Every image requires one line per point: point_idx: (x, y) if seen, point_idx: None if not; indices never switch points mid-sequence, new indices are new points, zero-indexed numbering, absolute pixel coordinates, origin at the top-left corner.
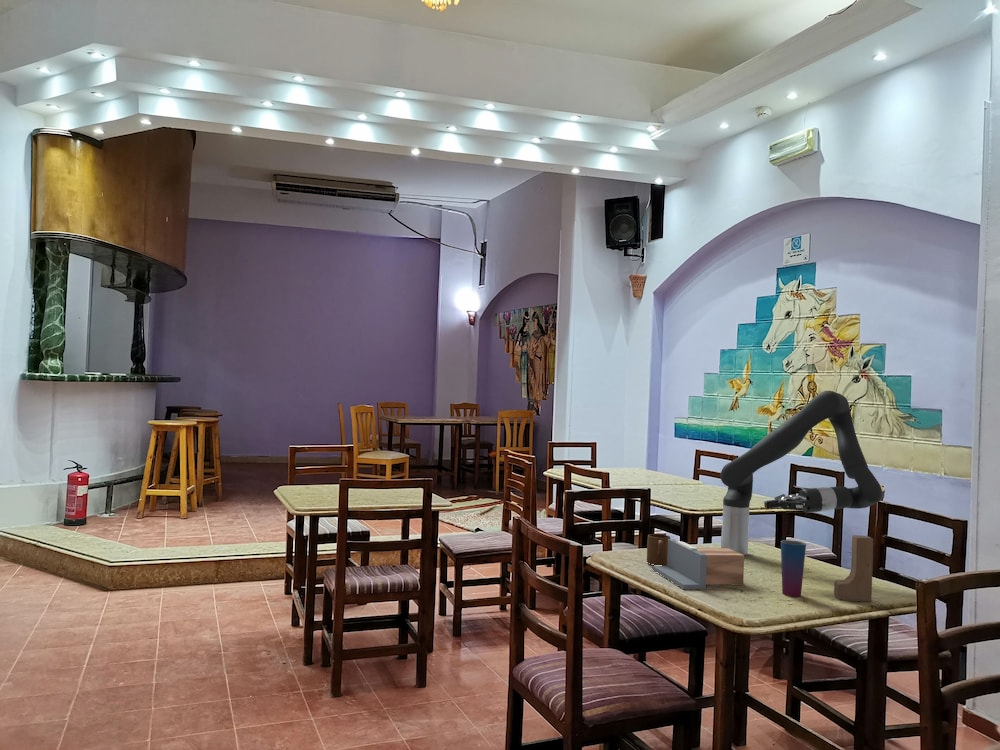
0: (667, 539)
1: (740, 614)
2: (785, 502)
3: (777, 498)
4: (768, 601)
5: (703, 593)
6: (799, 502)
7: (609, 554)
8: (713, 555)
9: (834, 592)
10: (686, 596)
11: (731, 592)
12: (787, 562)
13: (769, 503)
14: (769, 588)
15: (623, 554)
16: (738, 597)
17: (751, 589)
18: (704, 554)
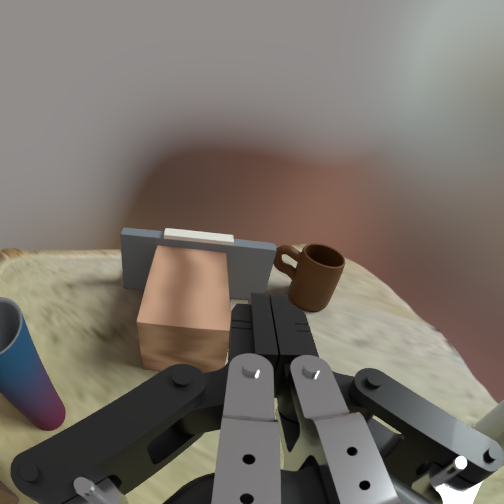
0: (307, 260)
1: (19, 264)
2: (154, 379)
3: (355, 386)
4: (32, 333)
5: (107, 275)
6: (33, 462)
7: (350, 266)
8: (151, 266)
9: (9, 491)
10: (103, 253)
11: (97, 314)
12: (11, 341)
13: (235, 307)
14: (102, 404)
15: (360, 280)
16: (69, 306)
17: (104, 360)
18: (126, 233)
